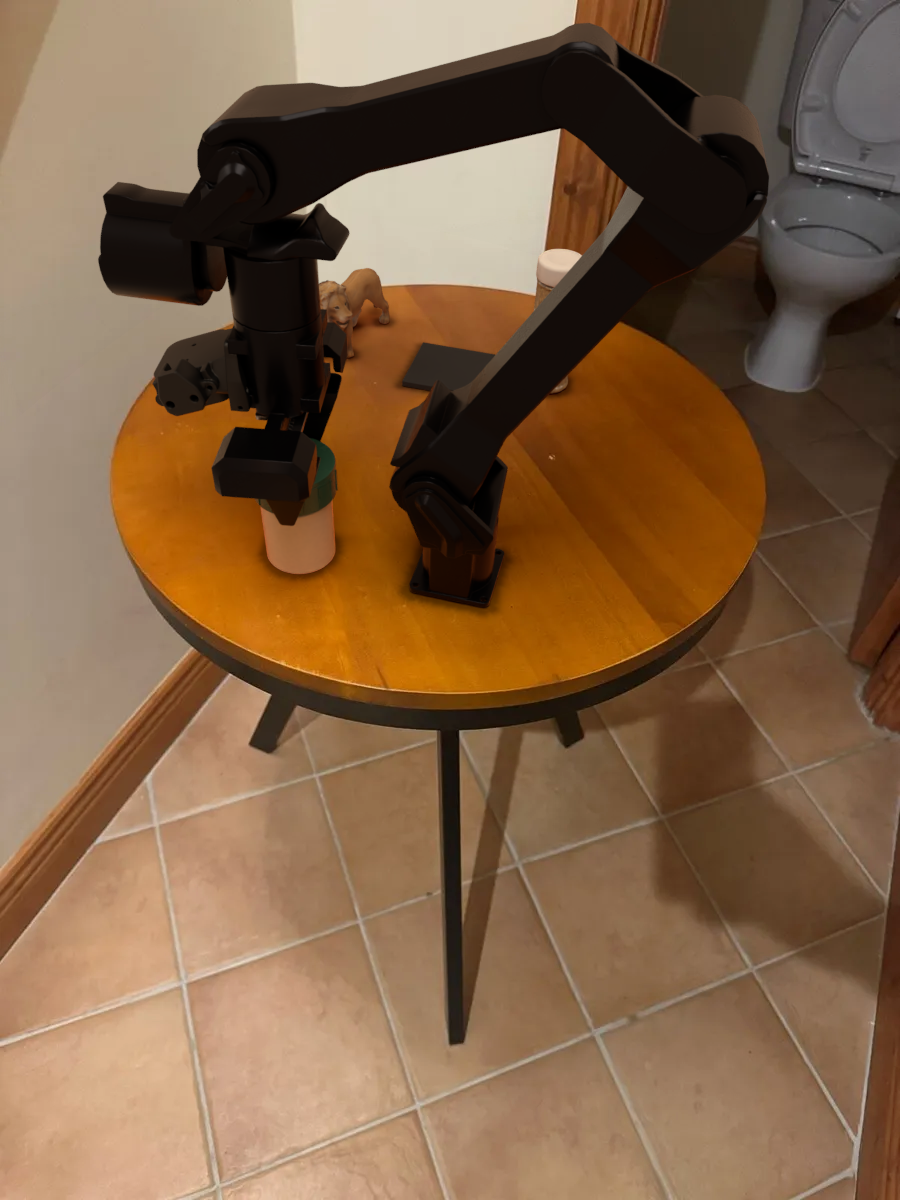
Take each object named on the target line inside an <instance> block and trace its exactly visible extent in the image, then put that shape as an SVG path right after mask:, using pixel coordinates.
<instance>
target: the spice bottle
mask: <svg viewBox="0 0 900 1200" xmlns="http://www.w3.org/2000/svg"><path fill="white" fill-rule="evenodd" d="M582 255H583V254H581V253H579V252H577V251H574V250H571V249H567V248H552V249H548V250H545V251H543V252H542V253H540V254H539V256H538V257H537V262H536V271H535V276H536V287H535V295H534V296H535V297H534V302H533V303H534V304H533V311H534V310H535V309H536V308H537V307H538V306H539V305H540V303H541V302H542V301H543V300H544V299H545V298H546V297H547V295H548V294H549V293H550V292H551V291H552V290H553V289H554V287H555V286H556V285H557V284H558V283H559V282H560V280H561V279H562V278H563V277H564V276H565V275H566V274H567V272H568V271H569V270H570V269H571V268H572V267H573V266H574V264H575V263H576V262H577V261H578V260H579V259H580V258H581V256H582ZM568 384H569V374H568V375H567V376H566V377H565V378H564V379H563V381H562V382H561V383H560V384H559V385H558V386H557V387H556V388H555V389H554V390H553V391H552V392H551V393H550V394H557V393H559V392H563V390H565V389H566V388H567V386H568Z"/></svg>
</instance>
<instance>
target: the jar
mask: <svg viewBox="0 0 900 1200" xmlns="http://www.w3.org/2000/svg"><path fill="white" fill-rule="evenodd" d="M259 508H260V513H261V514H260V515H261V522H262V528H263V535H264V543H265V550H266V556H267V559H268V561H269V562H270V564H271V565H272V566H273V567H275V569H277V570H279V571H282V572H284V573H288V574H292V575H293V574H294V575H305V574H310V573H314V572H318V571H320V570H322V569H323V568H325V567H326V566H328V565H329V564H330V563H331V561H332V560H333V559H334V557H335V555H336V546H337V545H336V534H335V532H336V531H335V518H334V517H335V516H334V502H333V500H332V501H331V502H330V503H329V504H328V505H327V506H326V507H324V508H323V509H321V510H319V511H317V512H314V513H311V514H308V515H303V516H298V518H297V521H296V523H295V525H294V526H285V525H281V524H280V523H279V522H278V520H277V518H276V517H275V515H274V513H271V512H268V511H266V510H265V509H263V508H262V507H260V506H259Z"/></svg>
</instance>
